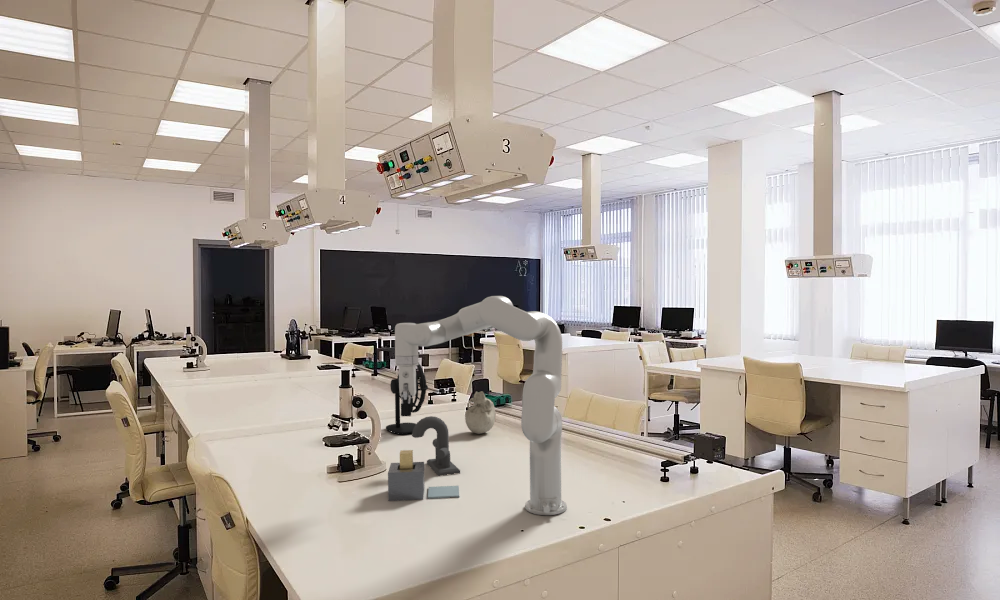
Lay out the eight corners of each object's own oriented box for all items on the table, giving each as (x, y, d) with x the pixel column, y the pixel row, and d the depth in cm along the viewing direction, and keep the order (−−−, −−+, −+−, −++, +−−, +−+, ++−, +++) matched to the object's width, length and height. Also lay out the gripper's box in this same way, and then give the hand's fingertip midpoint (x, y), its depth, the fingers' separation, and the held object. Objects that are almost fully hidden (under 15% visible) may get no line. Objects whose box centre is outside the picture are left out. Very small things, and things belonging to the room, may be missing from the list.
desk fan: (435, 433, 281) (434, 358, 281) (400, 438, 272) (399, 361, 271) (412, 422, 304) (411, 354, 304) (379, 427, 295) (378, 356, 294)
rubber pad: (459, 497, 192) (459, 495, 192) (428, 498, 192) (427, 496, 192) (458, 487, 202) (458, 485, 202) (428, 488, 202) (428, 486, 202)
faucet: (407, 465, 229) (406, 413, 229) (447, 460, 235) (446, 410, 235) (418, 479, 212) (417, 422, 212) (460, 473, 218) (459, 419, 218)
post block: (423, 499, 191) (422, 471, 191) (388, 501, 190) (387, 472, 190) (424, 488, 202) (424, 461, 202) (391, 489, 201) (391, 462, 201)
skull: (462, 436, 275) (462, 392, 275) (473, 428, 289) (472, 387, 289) (488, 437, 271) (488, 393, 271) (498, 430, 285) (498, 388, 285)
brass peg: (412, 490, 194) (412, 453, 194) (400, 490, 194) (399, 453, 194) (413, 486, 198) (412, 450, 198) (401, 486, 198) (400, 450, 198)
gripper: (416, 363, 187) (417, 418, 187) (419, 357, 204) (420, 407, 205) (392, 364, 187) (393, 418, 187) (397, 357, 204) (397, 408, 204)
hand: (407, 412), depth 196 cm, fingers open, 9 cm apart
